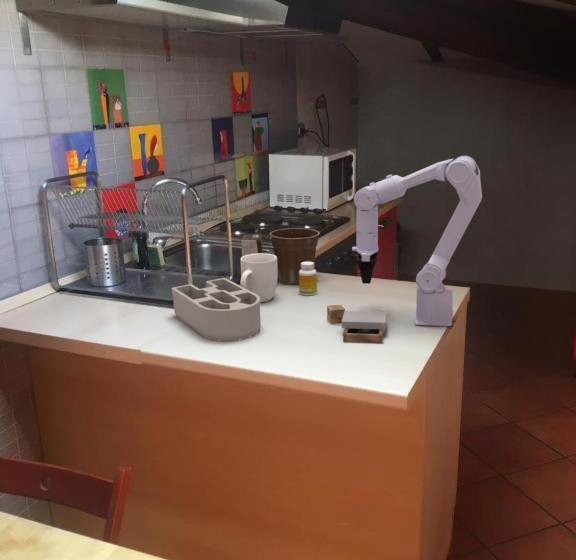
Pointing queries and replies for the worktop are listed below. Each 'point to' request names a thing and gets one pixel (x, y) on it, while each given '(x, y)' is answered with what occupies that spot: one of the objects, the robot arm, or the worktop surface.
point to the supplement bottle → (307, 279)
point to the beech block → (335, 314)
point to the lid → (364, 320)
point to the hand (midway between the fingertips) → (366, 280)
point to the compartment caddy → (218, 309)
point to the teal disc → (364, 330)
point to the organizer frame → (362, 337)
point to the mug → (259, 274)
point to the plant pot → (293, 251)
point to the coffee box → (251, 244)
